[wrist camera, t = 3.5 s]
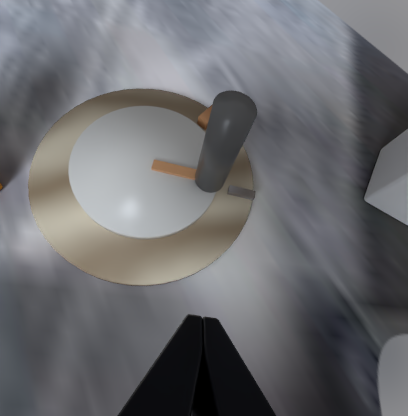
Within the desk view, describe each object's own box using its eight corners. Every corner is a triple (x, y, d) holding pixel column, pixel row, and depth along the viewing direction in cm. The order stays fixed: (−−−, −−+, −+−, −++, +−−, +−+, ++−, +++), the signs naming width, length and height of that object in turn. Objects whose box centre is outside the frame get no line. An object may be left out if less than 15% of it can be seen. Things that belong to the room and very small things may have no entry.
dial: (209, 255, 21) (243, 212, 12) (47, 220, 20) (-33, 149, 11) (231, 132, 25) (266, 41, 17) (100, 100, 24) (70, -13, 16)
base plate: (282, 246, 23) (292, 241, 21) (49, 321, 18) (38, 321, 17) (212, 84, 28) (215, 69, 27) (21, 110, 24) (10, 95, 22)
